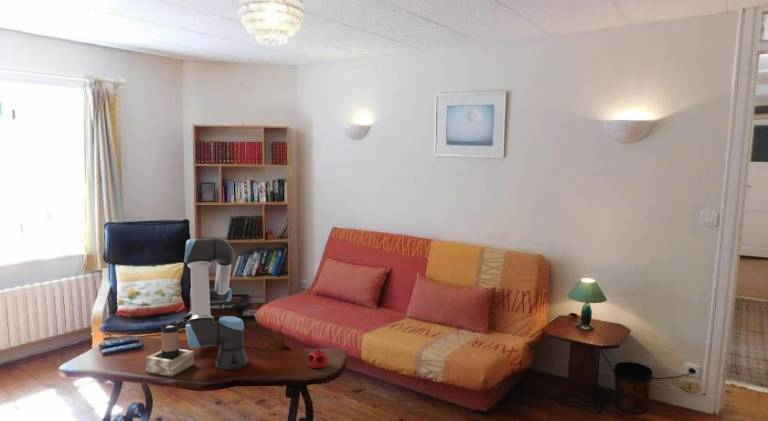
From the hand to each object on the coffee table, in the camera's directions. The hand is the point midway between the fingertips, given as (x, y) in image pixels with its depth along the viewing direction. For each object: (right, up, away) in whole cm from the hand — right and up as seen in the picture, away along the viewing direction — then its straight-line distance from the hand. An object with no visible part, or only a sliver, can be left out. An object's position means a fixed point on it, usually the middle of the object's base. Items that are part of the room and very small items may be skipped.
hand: (177, 332), depth 253 cm
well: (0, -15, -8) cm, 18 cm away
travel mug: (0, -15, -8) cm, 17 cm away
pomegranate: (+70, -17, -1) cm, 72 cm away
